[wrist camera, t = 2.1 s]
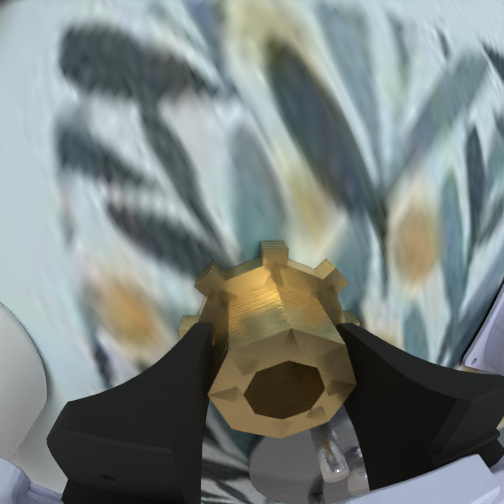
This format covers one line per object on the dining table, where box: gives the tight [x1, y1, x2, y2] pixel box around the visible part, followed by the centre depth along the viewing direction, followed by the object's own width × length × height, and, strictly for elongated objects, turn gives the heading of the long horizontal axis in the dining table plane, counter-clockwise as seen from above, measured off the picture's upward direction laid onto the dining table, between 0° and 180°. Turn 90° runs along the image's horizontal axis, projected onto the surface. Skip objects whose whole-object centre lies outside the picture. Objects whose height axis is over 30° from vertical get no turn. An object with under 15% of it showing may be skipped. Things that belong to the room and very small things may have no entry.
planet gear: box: [179, 241, 360, 438], centre depth 11 cm, size 7×7×4 cm
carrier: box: [248, 404, 370, 504], centre depth 14 cm, size 14×14×5 cm
